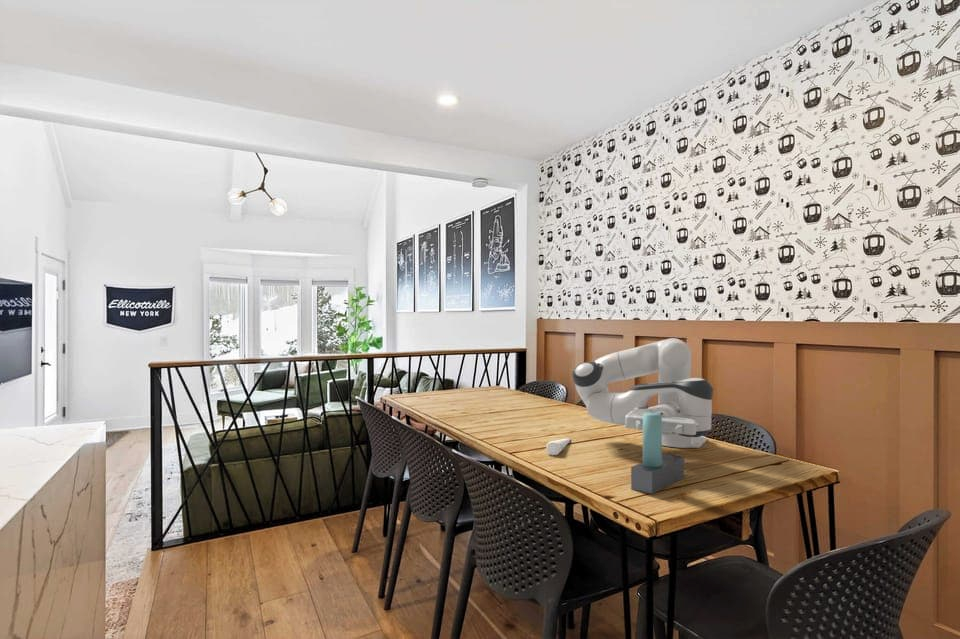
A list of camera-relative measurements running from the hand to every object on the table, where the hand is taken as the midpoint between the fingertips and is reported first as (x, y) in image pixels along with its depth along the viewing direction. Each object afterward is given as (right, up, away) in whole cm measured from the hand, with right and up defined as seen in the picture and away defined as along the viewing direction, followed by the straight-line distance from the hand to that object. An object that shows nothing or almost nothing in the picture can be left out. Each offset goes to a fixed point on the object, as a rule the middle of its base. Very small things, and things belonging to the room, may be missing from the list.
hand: (657, 429), depth 141 cm
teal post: (-3, -9, -6) cm, 11 cm away
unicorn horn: (-22, -15, +35) cm, 44 cm away
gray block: (-1, -15, -3) cm, 15 cm away
